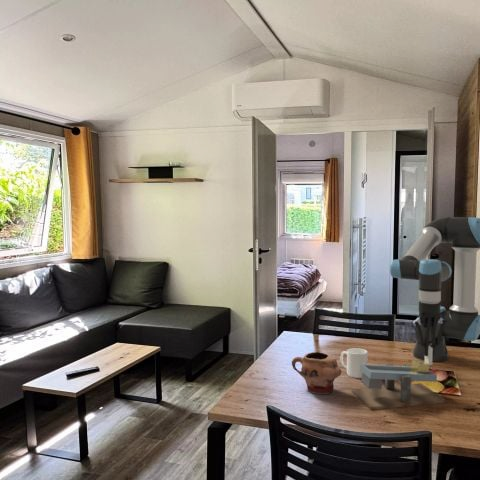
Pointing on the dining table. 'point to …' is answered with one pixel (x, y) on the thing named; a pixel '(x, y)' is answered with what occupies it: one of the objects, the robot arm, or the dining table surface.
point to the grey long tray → (390, 375)
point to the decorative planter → (318, 371)
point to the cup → (354, 361)
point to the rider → (419, 367)
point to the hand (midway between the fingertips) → (428, 363)
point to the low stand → (397, 395)
